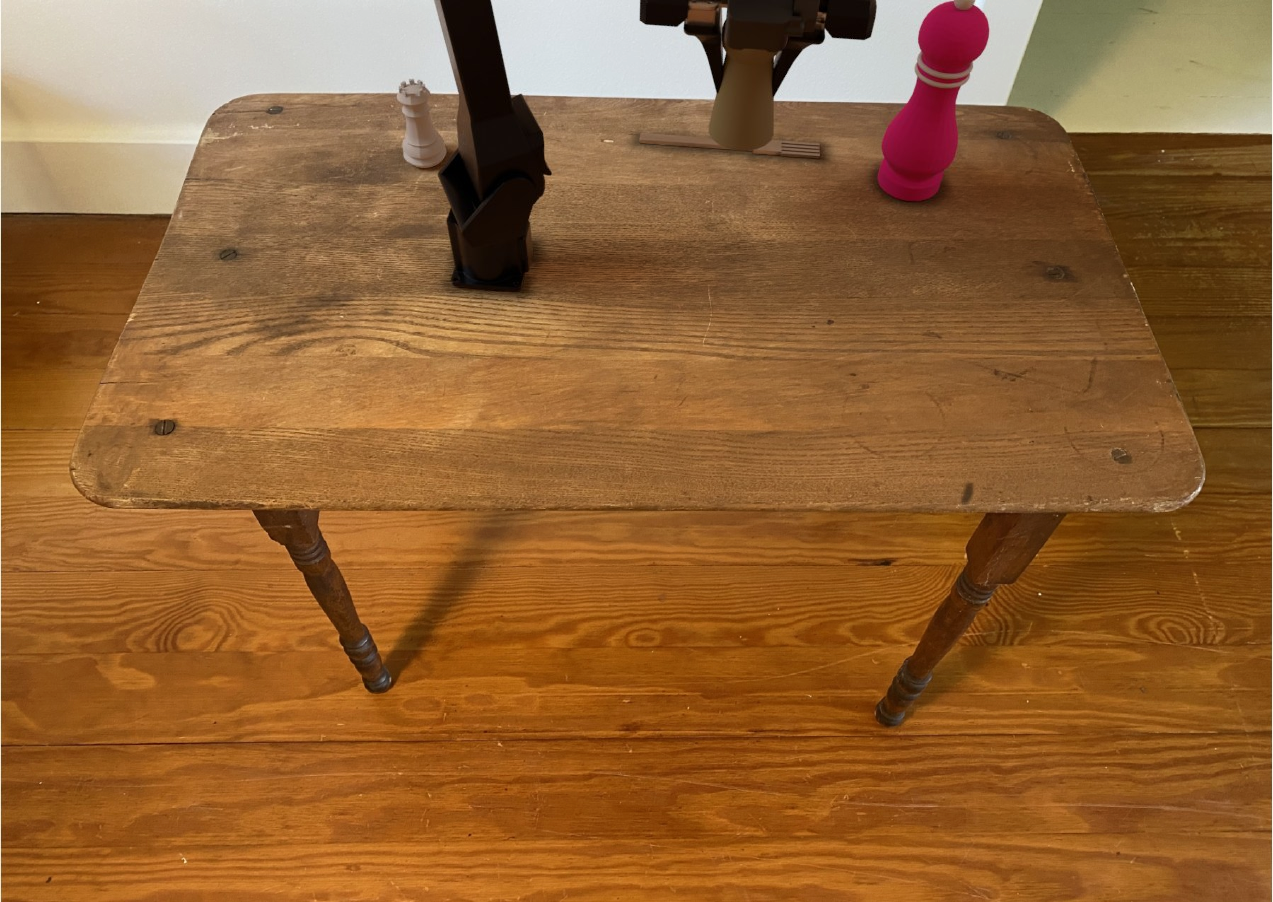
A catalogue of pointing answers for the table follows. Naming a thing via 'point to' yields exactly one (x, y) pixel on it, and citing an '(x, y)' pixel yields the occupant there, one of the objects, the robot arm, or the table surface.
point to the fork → (705, 142)
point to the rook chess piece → (419, 127)
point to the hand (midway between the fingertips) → (745, 93)
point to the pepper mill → (932, 102)
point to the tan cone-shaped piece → (744, 100)
